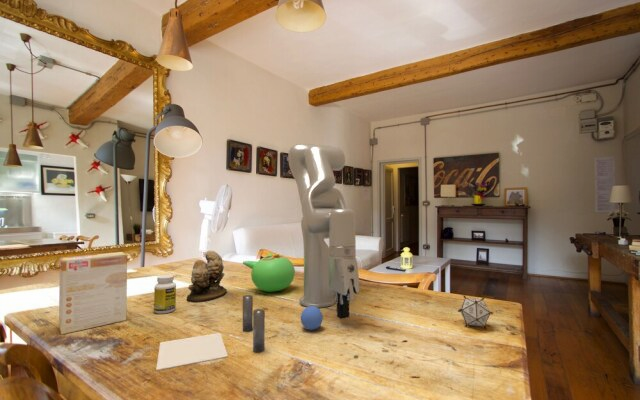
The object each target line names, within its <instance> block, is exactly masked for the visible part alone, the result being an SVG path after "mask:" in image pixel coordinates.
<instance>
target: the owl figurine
mask: <svg viewBox="0 0 640 400" xmlns="http://www.w3.org/2000/svg"><path fill="white" fill-rule="evenodd" d="M205 260H207V262H206V261H205ZM205 260H201V259H197V260H195V261H194V265H193V266H192V269H191V270H192V271H191V277H190V281H191V283H192V284H189V285H188V288H187V289H188V290H189V291H190V293H189V294H188V295H187V296H186V301H187V302H189V303H195V304H196V303H197V304H198V303H205V302H210V301H214V300H217V299H220V298H222V297H224V296H225V295H226V294H227V288H225V287H224V286H223V285H221V281H222V279H223V278H224V276H225V274H226V273H224V269H225V266H224V264H223V259H222V257H221V256H220V254H219V253H218V252H216V251H214V250H208V251H206V253H205Z"/></svg>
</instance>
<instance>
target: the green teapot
mask: <svg viewBox="0 0 640 400" xmlns="http://www.w3.org/2000/svg"><path fill="white" fill-rule="evenodd" d="M242 264H243V265H244V266H246V267H248V268H250V269H251V274H250V275H251V281H252V283H253V285H254V286H255V287H256V288H258V289H259V290H260V291H263V292H268V293H273V292H279V291H282V290H284V289H286V288H287V287H289V286H290V285H291V283H292V282H293V281H294V278H295V276H296V275H295V273H296V272H295V271H296V270H295V267H294V264H293V262H292V261H291V260H290V259H288V258H287V257H285V256H282V255H280V254H274V255H273V253H272V252H268V253H267V254H266V256H265V257H263V258H261V259H259V260H258V261H254V260H253V261H251V260H243V262H242Z"/></svg>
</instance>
